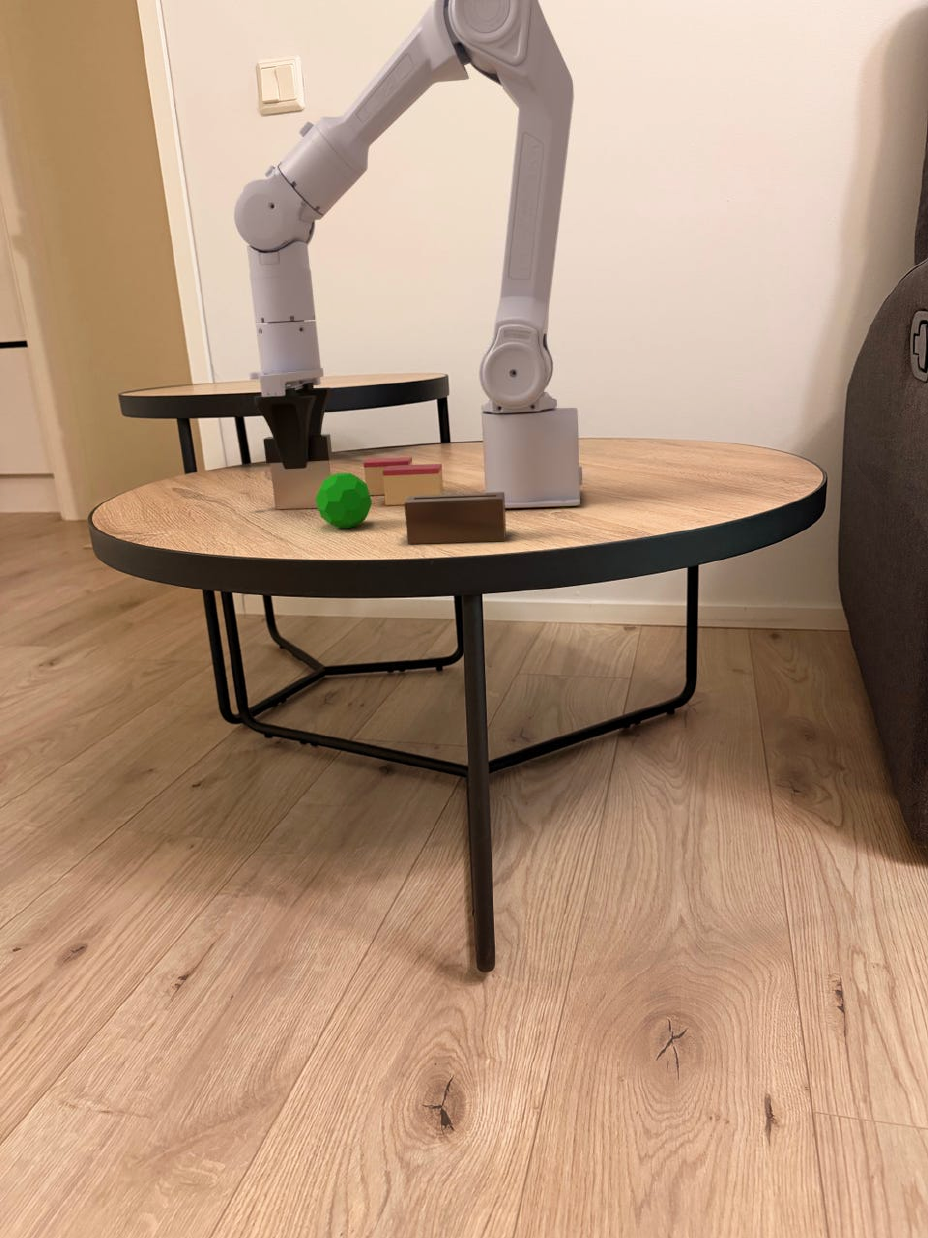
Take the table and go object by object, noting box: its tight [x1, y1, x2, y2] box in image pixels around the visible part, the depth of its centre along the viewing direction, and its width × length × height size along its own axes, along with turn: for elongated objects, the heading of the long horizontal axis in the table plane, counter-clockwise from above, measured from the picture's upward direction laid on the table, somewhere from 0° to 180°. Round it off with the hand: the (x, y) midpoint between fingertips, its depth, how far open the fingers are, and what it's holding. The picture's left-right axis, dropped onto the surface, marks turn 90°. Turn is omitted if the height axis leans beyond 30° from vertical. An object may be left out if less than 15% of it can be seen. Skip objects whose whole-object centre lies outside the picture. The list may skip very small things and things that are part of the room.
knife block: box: [404, 492, 507, 545], centre depth 76 cm, size 8×3×4 cm, turn 85°
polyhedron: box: [316, 472, 373, 529], centre depth 83 cm, size 5×5×5 cm
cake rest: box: [383, 463, 445, 506], centre depth 93 cm, size 6×3×4 cm, turn 85°
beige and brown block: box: [262, 433, 333, 510], centre depth 92 cm, size 6×2×7 cm, turn 85°
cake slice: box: [363, 456, 413, 496], centre depth 99 cm, size 5×3×4 cm, turn 85°
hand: (301, 464), depth 92 cm, fingers open, 4 cm apart
